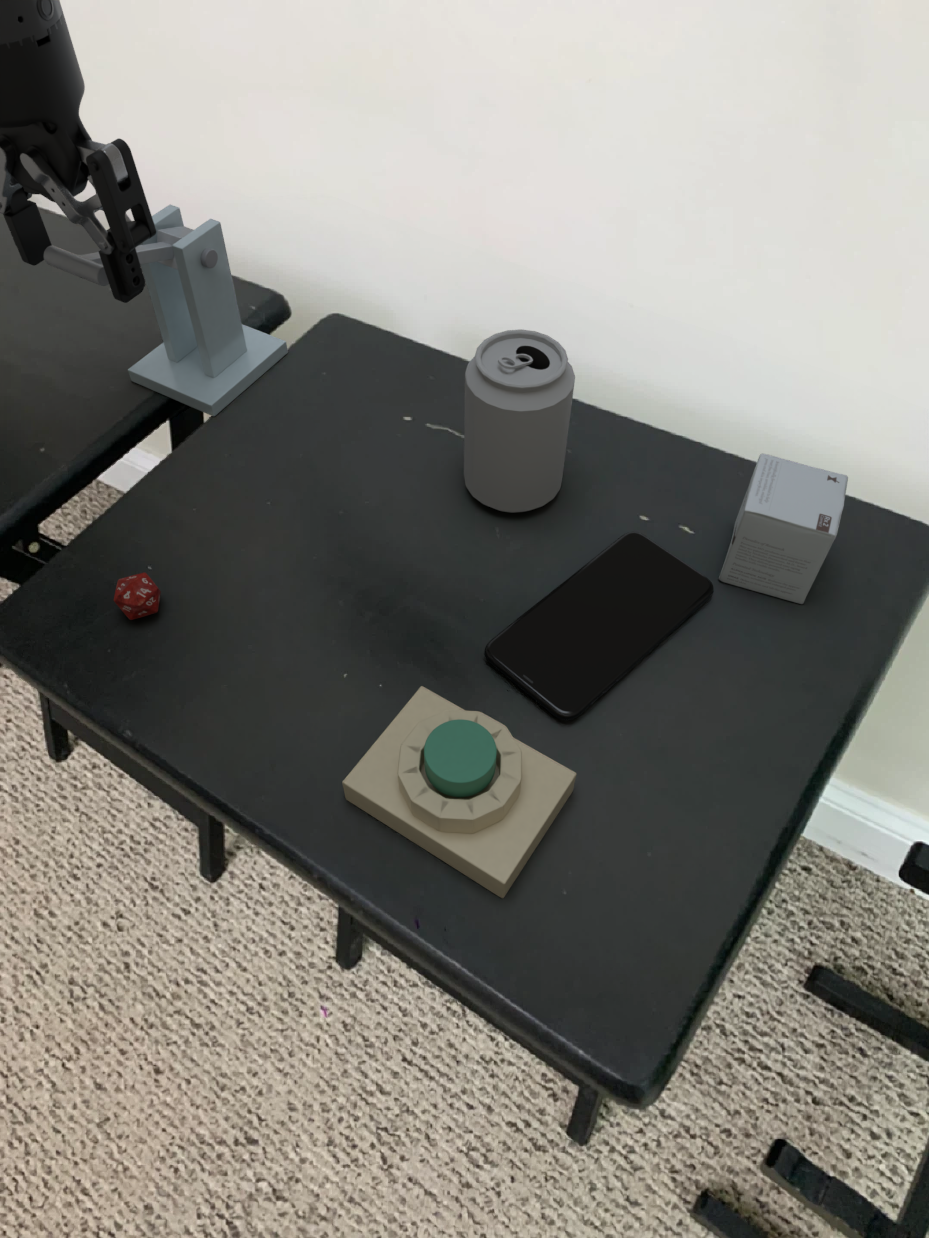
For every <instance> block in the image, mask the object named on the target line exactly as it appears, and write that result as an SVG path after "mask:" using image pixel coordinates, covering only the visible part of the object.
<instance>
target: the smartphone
mask: <svg viewBox="0 0 929 1238" xmlns="http://www.w3.org/2000/svg"><path fill="white" fill-rule="evenodd" d="M713 593H714V584H713V582H712V581H711V580H710V579H709V578H708V577H707V576H706V575H704V574H703V573H701V572H700V571H698V570H696V569H695V568H694V567H692V566H691V565H689V564H688V563H686V562H685V561H684V560H682V559H681V558H679V557H677V556H676V555H674V554H673V553H671V552H670V551H669V550H667V549H666V548H664V547H663V546H661V545H660V544H659V543H657V542H655V541H654V540H652V539H651V538H650V537H648V536H647V535H645V534H643V533H642V532H641V533H640V532H639V531H628V532H625V533H624V534H622V535H621V536H619V537H618V538H617V539H616V540H615V541H613V542H612V543H610V545H608V546H607V547H606V548H605V549H603V550H602V551H601V552H600V553H598V554H597V555H596V556H594V557H593V558H591V559H590V561H588V562H587V563H585V564H584V565H583V566H582V567H580V568H579V569H578V570H577V571H576V572H574V573H573V574H571V576H569V577H568V578H567V579H566V580H564V581H563V582H562V583H561V584H559V585H557V586H556V587H555V588H554V589H552V591H551V592H549V593H547V595H545V596H544V597H543V598H541V599H540V600H539V601H538V602H536V603H535V604H534V605H533V606H531V607H530V608H529V609H528V610H526V611H525V612H524V613H523V614H521V615H520V616H519V617H517V618H516V619H515V620H514V621H513V622H512V623H510V624H509V625H507V627H505V628H504V629H503V630H502V631H500V632H499V633H498V634H496V635H495V636H494V637H493V638H491V639H490V640H489V641H488V642H487V644H486V645H485V647H484V656H485V659H486V660H487V662H488V663H490V665H491V666H493V667H494V668H495V669H496V670H498V671H499V672H500V673H501V674H502V675H503V676H505V677H506V678H507V679H508V680H510V681H511V682H512V683H513V684H514V685H516V686H517V687H518V688H520V690H522V691H523V692H524V693H525V694H527V695H528V696H529V697H530V698H531V699H533V700H534V701H535V702H536V703H538V704H539V706H541V707H542V708H543V709H545V711H547V712H548V713H550V714H551V715H552V716H553V717H555V718H557V719H559V720H561V721H572V720H575V719H577V718H578V717H579V716H580V715H582V714H583V713H584V712H585V711H586V710H588V708H589V707H591V706H592V705H593V704H594V703H595V702H596V701H597V700H598V699H599V698H601V697H602V696H603V695H605V694H606V692H608V691H609V690H610V689H611V688H612V687H613V686H614V685H615V684H616V683H618V682H619V681H620V680H621V679H622V678H623V677H625V676H626V675H627V673H628V672H629V671H630V670H632V669H633V668H634V667H635V666H637V664H638V663H639V662H640V661H642V660H643V659H644V658H645V657H646V656H647V655H648V654H649V653H650V652H651V651H653V650H654V649H655V648H656V647H657V646H658V645H660V643H662V641H664V640H665V639H666V638H668V636H669V635H670V634H671V633H672V632H674V631H675V630H676V629H677V628H678V627H679V626H680V625H681V624H683V622H685V621H686V620H687V619H689V617H691V616H692V615H693V614H694V613H695V612H696V611H697V610H698V609H699V608H700V607H701V606H703V605H704V604H705V602H707V601H708V600H709V599H710V598H711V596H712V595H713Z"/></svg>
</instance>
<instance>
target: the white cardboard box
mask: <svg viewBox="0 0 929 1238" xmlns="http://www.w3.org/2000/svg"><path fill="white" fill-rule="evenodd" d="M756 461H757V462H756V463H755V466H754V470H753V472H752V475H751V478H750V481H749V483H748V486H747V489H746V492H745V495H744V497H743V500H742V503H741V505H740V508H739V510H738V513H737V516H736V519H735V522H734V526H733V530H732V536H731V541H730V543H729V546H728V549H727V551H726V552H727V553H726V556H725V559H724V562H723V565H722V568H721V571H720V573H719V576H718V580H719V581H720V582H722V583H724V584H728V585H732V586H735V587H739V588H742V589H745V590H749V591H752V592H757V593H760V594H763V595H767V596H771V597H774V598H778V599H781V600H784V601H788V602H792V603H795V604H799V605H803V604H804V603H805V601H806V599H807V596H808V595H809V592H810V590H811V588H812V586H813V584H814V583H815V580H816V578H817V576H818V574H819V572H820V570H821V568H822V566H823V564H824V562H825V559H826V558H827V556H828V554H829V552H830V550H831V548H832V546H833V544H834V541H835V540H836V538H837V535H838V532H839V527H840V522H841V519H842V513H843V510H844V507H845V499H846V494H847V487H848V481H849V477H848V475H847V474H843V473H840V472H839V473H838V472H834V471H831V470H826V469H823V468H820V467H819V468H818V467H815V466H812V465H808V464H803V463H800V462H796V461H793V460H789V459H786V458H782V457H779V456H775V455H772V454H771V455H770V454H767V453H759V456H758V459H757V460H756Z"/></svg>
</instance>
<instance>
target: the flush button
mask: <svg viewBox="0 0 929 1238" xmlns="http://www.w3.org/2000/svg"><path fill="white" fill-rule="evenodd" d="M496 756H497V748H496V744H495V741H494V739H493V737H492V735H491V734H490V733H489V731H488V730H487V729H485V728H484V727H483V726H481V725H480V724H478V723H476V722H473V721H469V720H463V719H457V720H451V721H447V722H445V723H443V724H441V725H439V726H438V727H436V728H435V729H434V730H433V731H432V732H431V733H430V735H429V736H428V738H427V740H426V742H425V746H424V764H425V772H426V776H427V778H428V780H429V781H430V783H431V784H432V785H433V786H434V787H435V788H436V789H437V790H438V791H440V792H442V793H444V794H446V795H449V796H453V797H468V796H472V795H475V794H477V793H479V792H481V791H482V790H483V789H485V788H486V787H487V786H488V785H489V783H490V782H491V780H492V779H493V776H494V774H495V768H496Z"/></svg>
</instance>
